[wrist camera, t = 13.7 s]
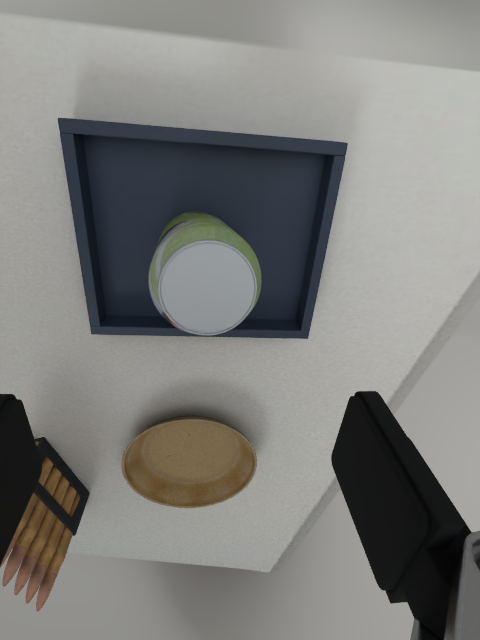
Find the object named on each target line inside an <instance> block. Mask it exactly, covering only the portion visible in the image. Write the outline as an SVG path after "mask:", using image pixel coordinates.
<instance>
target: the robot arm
mask: <svg viewBox="0 0 480 640" xmlns="http://www.w3.org/2000/svg"><path fill="white" fill-rule="evenodd" d="M331 460H332V466H333V469H334V471H335V474H336V477H337V479H338V482H339V485H340V487H341V490H342V492H343V495H344V498H345V500H346V503H347V506H348V508H349V511H350V513H351V516H352V519H353V521H354V524H355V526H356V529H357V532H358V534H359V537H360V540H361V542H362V545H363V547H364V550H365V553H366V556H367V558H368V561H369V563H370V566H371V569H372V571H373V574H374V577H375V579H376V581H377V584H378V586H379V587H380V588H381V589H382V590H385V591H386V593H387V596H388V598H389V601H390V603H400V602H408V604H409V607H410V609H411V611H412V614H413V616H414V623H413V629H412V634H411V639H410V640H480V531H478V532H471V531H470V530H469V528H468V526H467V525H466V523H465V522H464V520H463V519H462V517H461V516H460V514H459V512H458V511H457V509H456V508H455V506H454V505H453V503H452V502H451V501H450V499H449V497H448V496H447V494H446V493H445V491H444V490H443V488H442V487H441V485H440V484H439V482H438V481H437V479H436V478H435V476H434V474H433V473H432V471H431V470H430V468H429V467H428V465H427V464H426V462H425V461H424V459H423V458H422V456H421V455H420V453H419V452H418V450H417V449H416V447H415V445H414V444H413V442H412V441H411V440H410V439H409V438H408V437H407V436H406V434H405V433H404V431H403V430H402V428H401V427H400V425H399V423H398V422H397V420H396V419H395V417H394V416H393V414H392V413H391V411H390V410H389V408H388V407H387V405H386V404H385V402H384V400H383V399H382V397H381V396H380V394H379V393H378V392H376V391H359V392H356V393H355V395H354V396H351V397H350V399H349V401H348V404H347V408H346V411H345V414H344V417H343V420H342V424H341V427H340V430H339V433H338V436H337V439H336V443H335V446H334V449H333V452H332V457H331ZM41 473H42V462H41V459H40V456H39V453H38V449H37V446H36V443H35V440H34V437H33V434H32V431H31V427H30V424H29V421H28V418H27V415H26V412H25V409H24V405H23V403H22V401H21V400H17V399H16V397H15V396H14V395H13V394H0V566H1V563H2V561H3V559H4V557H5V555H6V552H7V550H8V548H9V546H10V543H11V541H12V539H13V537H14V535H15V532H16V530H17V528H18V526H19V523H20V521H21V519H22V517H23V515H24V512H25V510H26V508H27V506H28V503H29V501H30V499H31V497H32V495H33V492H34V490H35V488H36V486H37V483H38V481H39V479H40V476H41Z"/></svg>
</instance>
